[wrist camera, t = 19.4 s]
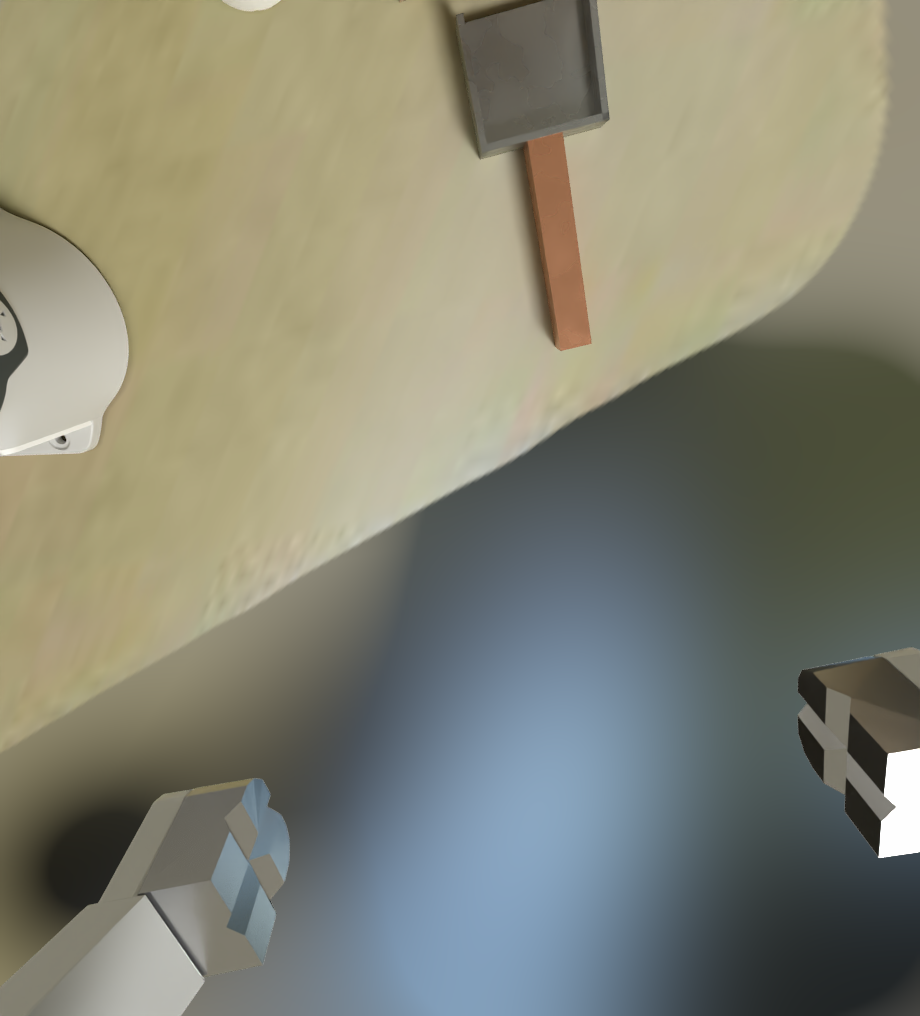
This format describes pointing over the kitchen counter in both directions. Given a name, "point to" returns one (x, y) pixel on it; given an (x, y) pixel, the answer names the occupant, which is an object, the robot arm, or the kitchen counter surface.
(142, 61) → the kitchen counter surface
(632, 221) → the kitchen counter surface
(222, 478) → the kitchen counter surface
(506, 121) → the shovel
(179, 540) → the kitchen counter surface
